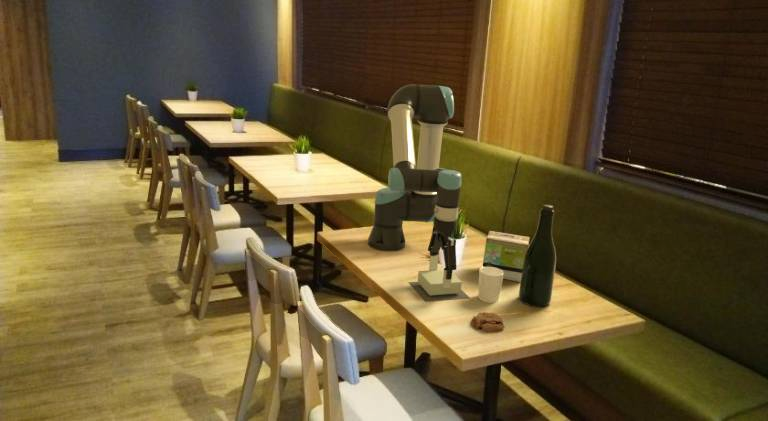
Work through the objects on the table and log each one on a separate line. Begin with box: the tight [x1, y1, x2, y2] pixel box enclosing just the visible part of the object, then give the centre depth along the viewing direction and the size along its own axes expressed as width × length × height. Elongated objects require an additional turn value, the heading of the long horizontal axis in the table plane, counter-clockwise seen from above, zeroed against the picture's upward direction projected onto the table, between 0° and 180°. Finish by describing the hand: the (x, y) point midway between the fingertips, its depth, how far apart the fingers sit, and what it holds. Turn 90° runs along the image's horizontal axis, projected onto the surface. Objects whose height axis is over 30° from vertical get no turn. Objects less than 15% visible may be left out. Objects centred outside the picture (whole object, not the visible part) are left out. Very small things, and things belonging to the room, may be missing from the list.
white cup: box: [477, 266, 504, 304], centre depth 201 cm, size 8×8×10 cm
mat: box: [407, 281, 471, 303], centre depth 206 cm, size 16×16×1 cm
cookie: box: [470, 311, 505, 333], centre depth 184 cm, size 10×11×3 cm
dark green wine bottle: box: [518, 204, 557, 308], centre depth 199 cm, size 10×10×33 cm
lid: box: [417, 269, 462, 295], centre depth 205 cm, size 11×11×4 cm
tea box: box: [482, 230, 530, 283], centre depth 222 cm, size 15×10×15 cm, turn 74°
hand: (439, 280), depth 205 cm, fingers closed on lid, 11 cm apart
